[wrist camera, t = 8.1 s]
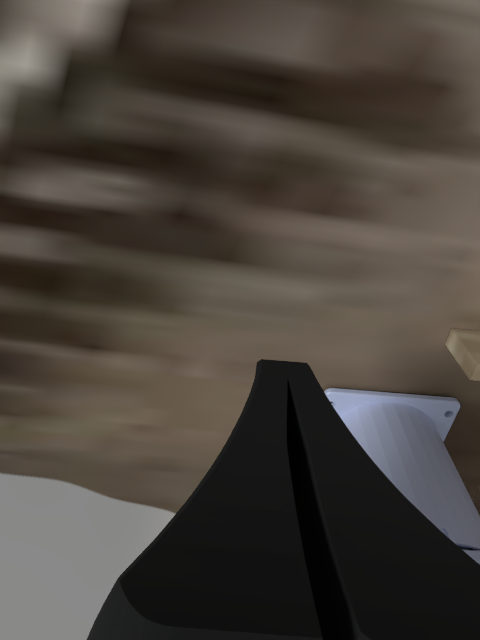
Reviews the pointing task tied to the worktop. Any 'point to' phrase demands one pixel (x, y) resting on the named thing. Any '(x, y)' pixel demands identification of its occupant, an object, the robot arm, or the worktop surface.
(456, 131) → the worktop surface
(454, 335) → the lane
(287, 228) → the worktop surface
